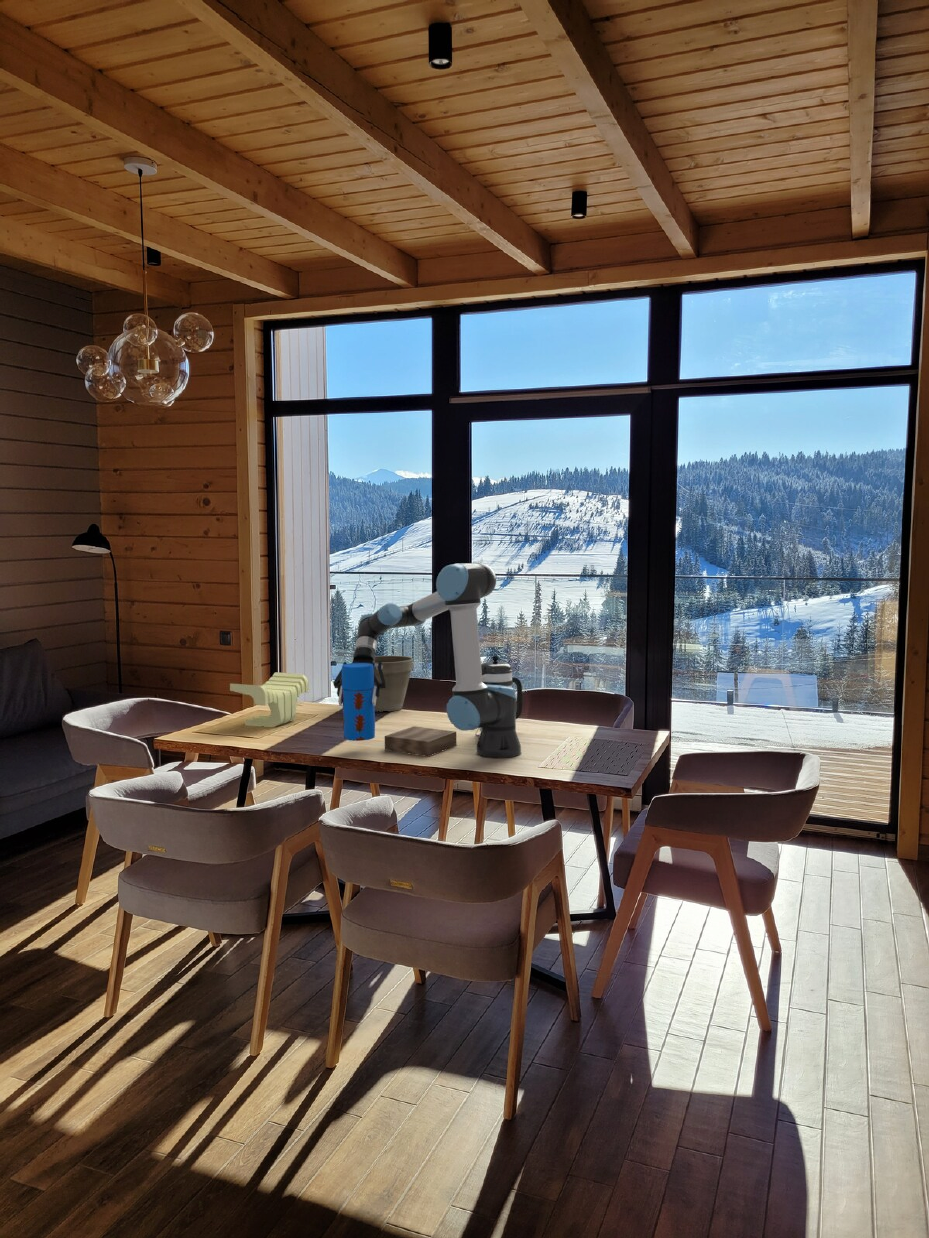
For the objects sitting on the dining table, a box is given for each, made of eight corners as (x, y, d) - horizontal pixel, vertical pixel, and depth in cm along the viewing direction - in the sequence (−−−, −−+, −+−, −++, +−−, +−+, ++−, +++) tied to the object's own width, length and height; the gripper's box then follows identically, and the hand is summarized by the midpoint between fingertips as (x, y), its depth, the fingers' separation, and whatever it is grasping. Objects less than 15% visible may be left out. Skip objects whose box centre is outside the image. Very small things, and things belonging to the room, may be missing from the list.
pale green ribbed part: (266, 732, 344) (264, 685, 343) (231, 729, 350) (229, 683, 349) (309, 717, 372) (308, 674, 370) (276, 714, 378) (275, 672, 376)
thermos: (344, 741, 306) (342, 667, 304) (342, 735, 316) (340, 663, 314) (376, 739, 308) (375, 666, 306) (373, 733, 319) (371, 662, 316)
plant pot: (362, 702, 403) (361, 654, 401) (417, 703, 400) (417, 654, 398) (350, 714, 378) (349, 662, 376) (408, 714, 376) (408, 662, 374)
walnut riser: (456, 745, 321) (456, 731, 320) (428, 756, 305) (428, 741, 305) (414, 739, 330) (413, 726, 329) (384, 750, 315) (384, 735, 314)
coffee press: (515, 741, 326) (515, 658, 323) (471, 739, 329) (471, 657, 326) (522, 731, 343) (522, 652, 340) (480, 729, 346) (480, 651, 343)
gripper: (399, 658, 324) (392, 710, 310) (334, 658, 327) (325, 709, 312) (396, 645, 318) (389, 697, 304) (330, 645, 321) (320, 697, 307)
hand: (356, 703), depth 308 cm, fingers closed on thermos, 11 cm apart
